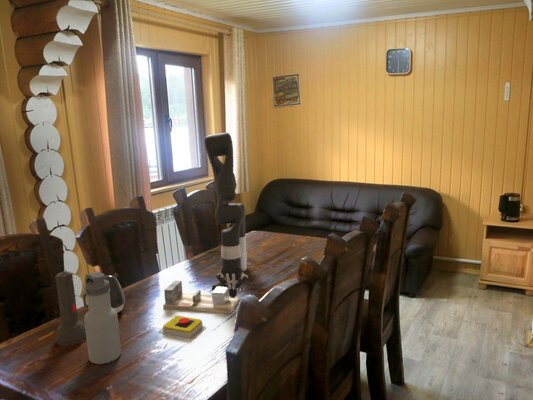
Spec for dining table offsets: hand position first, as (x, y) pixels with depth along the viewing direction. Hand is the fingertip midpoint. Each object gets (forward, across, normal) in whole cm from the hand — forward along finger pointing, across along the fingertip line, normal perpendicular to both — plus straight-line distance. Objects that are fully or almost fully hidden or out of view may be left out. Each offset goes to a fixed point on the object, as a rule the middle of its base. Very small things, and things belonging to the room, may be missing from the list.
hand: (233, 297), depth 172 cm
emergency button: (+5, +13, +21) cm, 25 cm away
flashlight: (+4, +48, +34) cm, 59 cm away
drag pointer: (+2, +15, +2) cm, 16 cm away
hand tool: (+4, +10, -20) cm, 23 cm away
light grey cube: (+2, +5, 0) cm, 6 cm away
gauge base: (+4, +13, 0) cm, 14 cm away
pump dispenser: (+4, +46, +12) cm, 48 cm away
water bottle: (+4, +30, +42) cm, 52 cm away
